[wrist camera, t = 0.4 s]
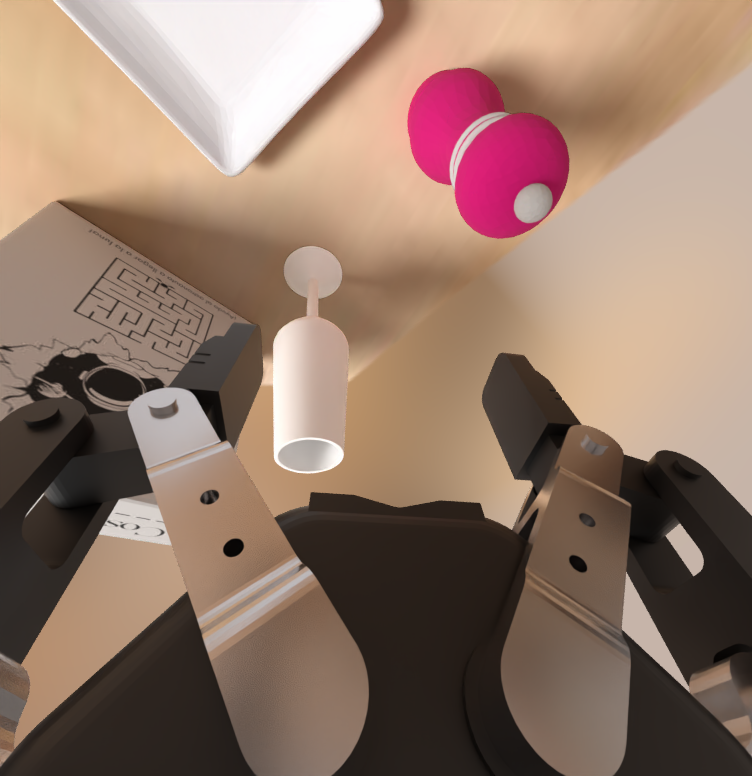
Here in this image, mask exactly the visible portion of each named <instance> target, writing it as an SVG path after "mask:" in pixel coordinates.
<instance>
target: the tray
mask: <svg viewBox="0 0 752 776" xmlns="http://www.w3.org/2000/svg"><path fill="white" fill-rule="evenodd" d="M53 1H54V2H55V3H56V4H57V5H58V6H59V7H60V8H61V9H62V10H63V11H64V12H65V13H66V14H67V15H68V16H69V17H70V18H71V19H72V20H73V21H74V22H75V23H76V24H77V25H78V26H79V27H80V28H81V29H82V31H83V32H84V33H85V34H86V35H87V36H88V37H89V38H90V39H91V40H92V41H93V42H94V43H95V44H96V45H97V46H98V47H99V48H100V49H101V50H102V51H103V52H104V53H105V54H106V55H107V56H108V57H109V58H110V59H111V60H112V61H113V62H114V63H115V64H116V65H117V66H118V67H119V68H120V69H121V70H122V71H123V72H124V73H125V74H126V75H127V76H128V77H129V78H130V79H131V80H132V81H133V83H134V84H135V85H136V86H137V87H138V88H139V89H140V90H141V91H142V92H143V93H144V94H145V95H146V96H147V97H148V98H149V99H150V100H151V101H152V102H153V103H154V104H155V105H156V106H157V107H158V108H159V109H160V110H161V111H162V112H163V113H164V114H165V115H166V116H167V118H168V119H169V120H170V121H171V122H172V123H173V124H174V125H175V126H176V127H177V128H178V129H179V130H180V131H181V132H182V133H183V134H184V135H185V136H186V137H187V138H188V139H189V140H190V141H191V142H192V143H193V144H194V146H195V147H196V148H197V149H198V150H199V151H200V152H201V153H202V154H203V155H204V156H205V157H206V158H207V159H208V160H209V161H210V162H211V163H212V164H213V165H214V166H215V167H216V168H217V169H218V170H219V171H221V172H222V173H223V174H225V175H227V176H231V177H234V176H237V175H239V174H240V173H242V172H243V171H244V170H245V169H246V168H247V167H248V166H249V165H250V164H251V163H252V162H253V161H254V160H255V159H256V158H257V156H258V155H259V154H260V153H261V152H262V151H263V150H264V149H265V147H266V146H267V145H268V144H269V143H270V142H271V141H272V139H273V138H274V137H275V136H276V135H277V134H278V133H279V132H280V131H281V130H282V128H283V127H284V126H285V125H286V124H287V123H288V122H289V121H290V120H291V119H292V118H293V117H294V116H295V115H296V114H297V113H298V111H299V110H300V109H301V108H302V107H303V106H304V105H305V104H306V103H307V102H308V101H309V100H310V99H311V98H312V97H313V96H314V95H315V94H316V93H317V92H318V91H319V90H320V89H321V88H322V87H323V86H324V85H325V84H326V83H327V82H328V81H329V80H330V79H331V78H332V77H333V76H334V75H335V74H336V73H337V72H338V71H339V70H340V69H341V68H342V67H343V66H344V65H345V64H346V63H347V62H348V61H349V59H350V58H351V57H352V56H353V55H354V54H355V53H356V52H357V51H358V50H359V49H360V48H361V47H362V46H363V45H364V44H365V43H366V42H367V41H368V39H369V38H370V37H371V36H372V35H373V34H374V33H375V31H376V30H377V29H378V27H379V26H380V25H381V22H382V20H383V18H384V10H383V6H382V3H381V0H53Z"/></svg>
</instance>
